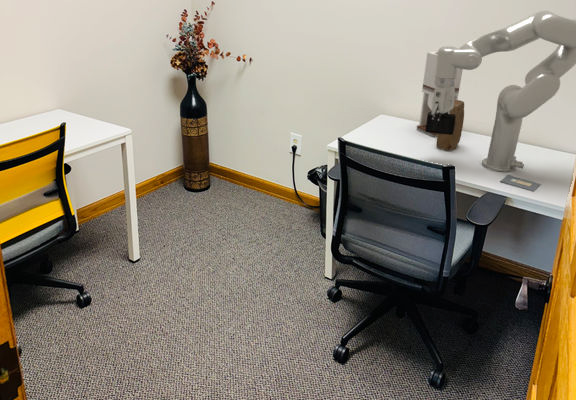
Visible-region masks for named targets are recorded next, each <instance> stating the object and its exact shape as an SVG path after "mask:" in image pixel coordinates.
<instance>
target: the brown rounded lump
mask: <svg viewBox="0 0 576 400" xmlns="http://www.w3.org/2000/svg"><path fill="white" fill-rule="evenodd" d="M449 112H450V114H455V115H456V118H455V125H454V131H453V135H448V134H439V133H438V134H437V137H436V145H435V146H436V147H437V148H439V149H441V150H443V151H454V150H455V149H457V147H458V145H459V143H460V142H461V139H462V138H461V137H462V132H463V128H464V127H463V126H464V122H465V101H463V100H459V99H458V100H454V107H453V109H452V110H450V111H449Z"/></svg>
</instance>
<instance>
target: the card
mask: <svg viewBox="0 0 576 400" xmlns="http://www.w3.org/2000/svg"><path fill="white" fill-rule="evenodd" d="M499 183H501V184H505V185H509V186H512V187H516V188H520V189H523V190H526V191H530V192H535V191H536V190H537V189H538V188H539V187H540V186H541V185H542V183H540V182H536V181H533V180H532V181H531V180H529V179H524V178H520V177H518V176H515V175H511V174H507V175H505V176H504V177H503V178H502V179H501V180H500V181H499Z"/></svg>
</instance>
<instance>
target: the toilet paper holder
mask: <svg viewBox="0 0 576 400" xmlns="http://www.w3.org/2000/svg"><path fill="white" fill-rule="evenodd" d="M437 55H438V51H430V52H427V53H426V60H425V67H424V68H425V69H424V74H423V80H422V81H423V83H422V88H421V89H422V90H421V92H422V93H423V94H422V95H423V97H422V102H421V111H420V117H419V123H418V125H416V131H418V132H420V133H421V134H422V133H423V134H425V135H427V136H429V137H430V138H437V134H438V133H429V132H425V131H426V123H427V116H428V112H432V102H433V96H434V90H435V85H434V83H435V74H436V65H437ZM463 70H464V69H460V68H457V75H456V83H455V98H454V100H459V99H458V98H459V95H460V93H459V92H460V89H461V82H462V75H463ZM437 112H440V111H438V110H437Z"/></svg>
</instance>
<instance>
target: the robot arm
mask: <svg viewBox="0 0 576 400" xmlns="http://www.w3.org/2000/svg"><path fill="white" fill-rule="evenodd" d="M539 39H542V40H544V41H546V42H549V43H552V44H556V45H557V47H556V49H554V50H553V52H552V53H551V54H550V55H548V56H547V57H546V58H545V59H543V60H542V61H541V62H539V63H538V64H537V65H535V66H534V67H533V68H531V69H530V70H529V71H528V72H527V73H526V75H525V78H524V83H525V85H524V86H523V87H521V86H519V85H516V84H509V85H506V86H505V87H504V88H503V89H502V90H501V91H500V93H499V94H498V96H497V97H498V98H497V101H496V102H497V103H496V112H495V119H494V123H493V129H492V132H491V139H490V143H489V147H488V153H487V157H486V158H483V159H482V162H481V165H482V166H483V167H484V168H486V169H489V170H491V171H494V172H501V173H509V172H514V171H515V170H516V169H517V168H518V169H521V170H523V169H524V167H525V164H524V162H523V161H519V160H517V156H515V154H516V150H517V146H518V142H519V137H520V133H521V129H522V125H523V119H524V118H527V116H529V115H530V114H532V113H534V112H535V111H536V110H538V109H539V108H541V107H542V106H543V105H544V104H546V103H547V102H548V101H549V100H551V99H552V98H553V97H554V96H555V95H556V94H557V93H558V91H559V90H560V87H561V79H560V78H561V77H563V76H564V75H565V74H566V73H568V72H569V71H570V70H571V69H572V68H574V66H575V65H576V19H570V18H567V17H564V16H561V15H558V14H556V13H554V12H551V11H549V10H542V11H537V12H535V13H534V14H531V15H528V17H527V16H526V17H525V18H523V19H520V20H519V21H516V22H514V23H512V24H511V25H508V26H506V27H503V28H501V29H497V30H495V31H492V32H489V33H487V34H483V35H481V36H479V37H477V38H474V39H473V40H470V41H468V42H466V43H465V44H463V45H462V46H460V47H459V48H458V47H456V46H449V45H448V46H441V47H439V49H438V50H437V52H438V55H437V65H436V74H435V83H434V85H435V90H434V96H433V102H432V113H431V114H432V117H433V118H432V120H433V122H432V130H437V131H440V127H441V120H440V119H441V115H442V114H450V112H449V111H450V110H452V109H453V107H454V98H455V83H456V75H457V68H460V69H463V70H467V71H472V70H475V69H477V68H479V67H480V66H481V64H482V61H483V58H484V57H485V56H489V55H492V54H494V53H499V52H503V53H504V52H512V51H515V50H517V49H519V48H520V49H521V48H522V47H524V46H526V45H528V44H530V43H533V42H535V41H537V40H539ZM437 110H438V111H440V112H437ZM437 114H439V117H438V115H437Z"/></svg>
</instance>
